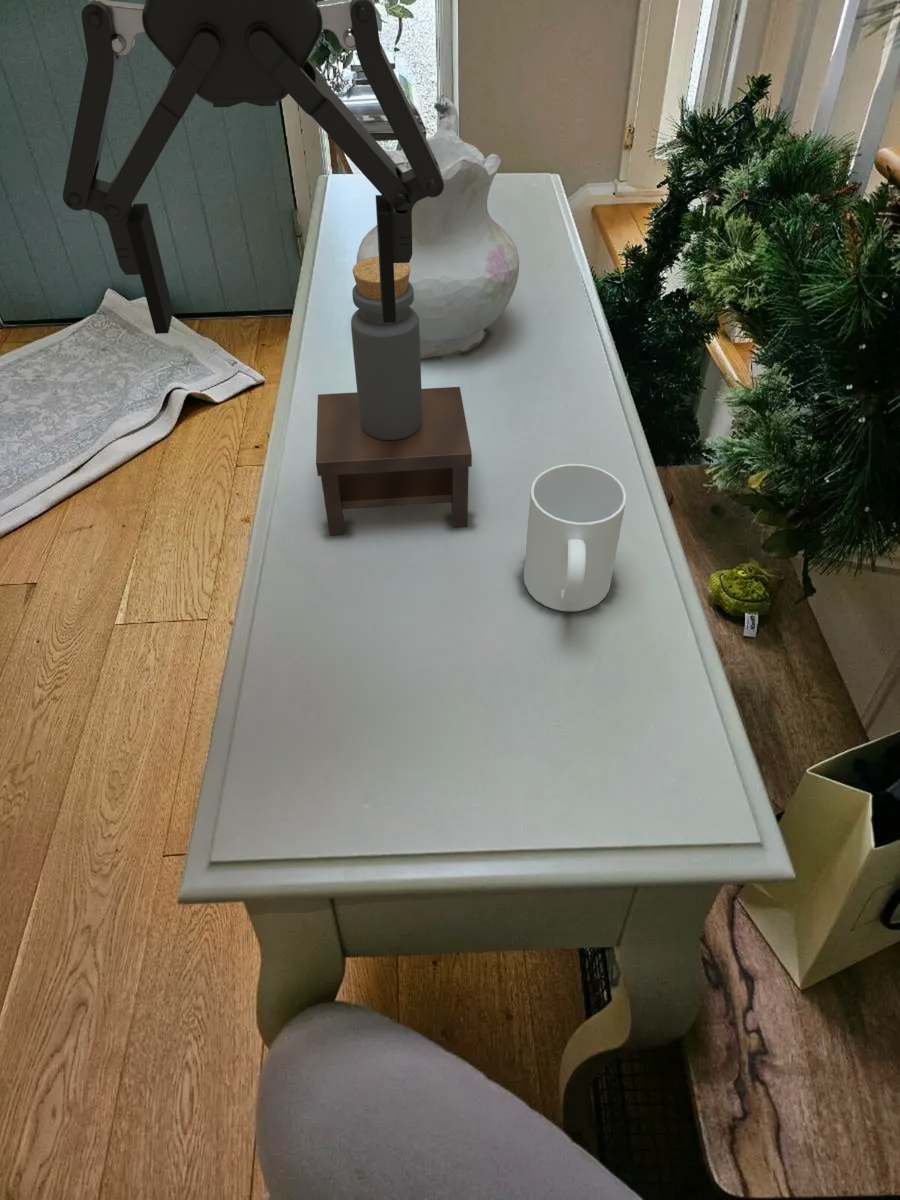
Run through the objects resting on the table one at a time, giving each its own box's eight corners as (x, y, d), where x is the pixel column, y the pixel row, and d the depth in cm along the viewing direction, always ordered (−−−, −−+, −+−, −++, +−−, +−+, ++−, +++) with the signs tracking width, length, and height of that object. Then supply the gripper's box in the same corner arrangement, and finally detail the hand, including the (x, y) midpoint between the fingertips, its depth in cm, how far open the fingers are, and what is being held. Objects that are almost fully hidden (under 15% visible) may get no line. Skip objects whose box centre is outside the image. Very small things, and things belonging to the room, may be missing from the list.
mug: (525, 549, 82) (532, 460, 74) (609, 555, 81) (625, 466, 73) (519, 646, 73) (526, 557, 66) (612, 653, 73) (630, 564, 65)
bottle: (384, 449, 78) (372, 291, 67) (348, 420, 81) (331, 265, 70) (435, 425, 80) (431, 270, 69) (398, 398, 83) (389, 245, 72)
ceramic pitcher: (366, 300, 118) (333, 101, 100) (506, 282, 118) (499, 79, 100) (372, 388, 103) (334, 172, 85) (532, 367, 103) (529, 147, 85)
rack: (326, 537, 83) (315, 462, 76) (327, 467, 90) (317, 394, 84) (470, 528, 84) (471, 453, 77) (459, 459, 91) (459, 386, 85)
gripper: (-120, -125, 34) (55, 359, 49) (507, -127, 36) (487, 337, 51) (-63, -147, 39) (79, 297, 54) (482, -148, 41) (471, 279, 56)
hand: (277, 317), depth 53 cm, fingers open, 13 cm apart
